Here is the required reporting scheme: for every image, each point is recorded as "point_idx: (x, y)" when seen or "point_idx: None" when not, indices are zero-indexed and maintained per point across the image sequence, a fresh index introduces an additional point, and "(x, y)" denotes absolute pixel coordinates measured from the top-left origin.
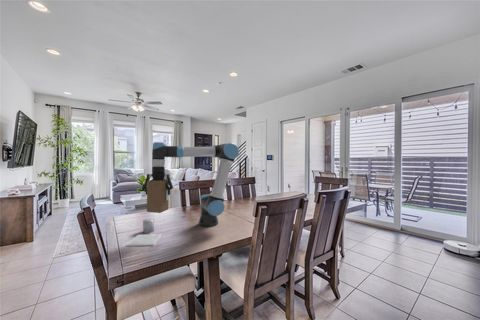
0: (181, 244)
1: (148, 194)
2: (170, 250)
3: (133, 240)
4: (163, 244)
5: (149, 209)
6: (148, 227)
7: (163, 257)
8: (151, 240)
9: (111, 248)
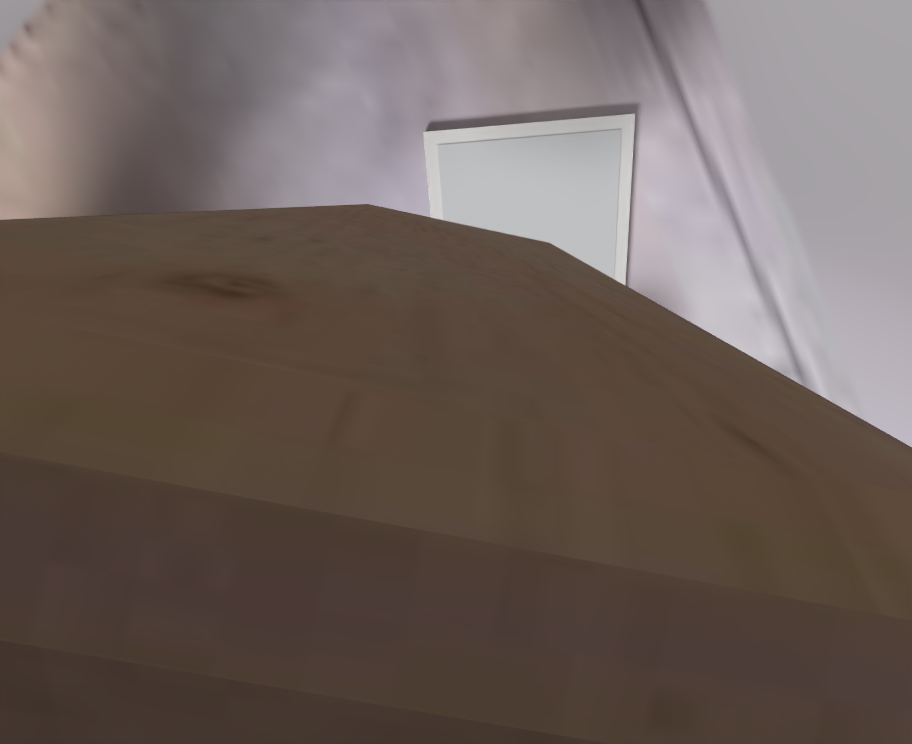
0: (226, 156)
1: (599, 279)
2: (259, 38)
3: (612, 204)
4: (361, 156)
5: (519, 238)
6: None
7: None
8: (472, 204)
9: (731, 76)
